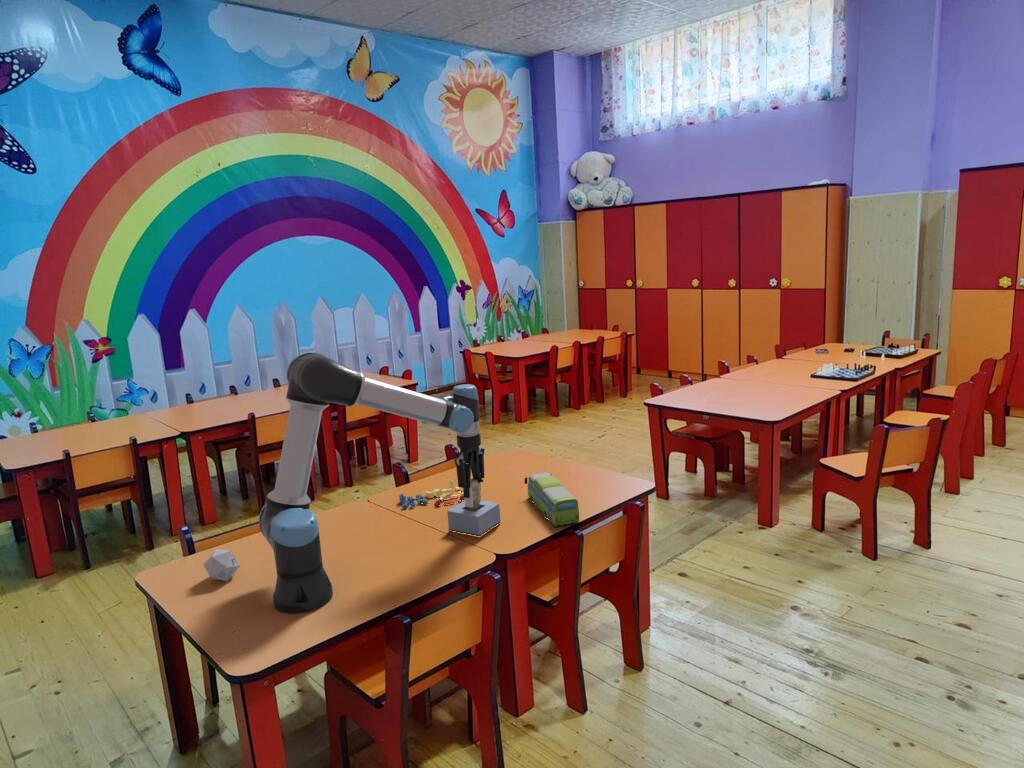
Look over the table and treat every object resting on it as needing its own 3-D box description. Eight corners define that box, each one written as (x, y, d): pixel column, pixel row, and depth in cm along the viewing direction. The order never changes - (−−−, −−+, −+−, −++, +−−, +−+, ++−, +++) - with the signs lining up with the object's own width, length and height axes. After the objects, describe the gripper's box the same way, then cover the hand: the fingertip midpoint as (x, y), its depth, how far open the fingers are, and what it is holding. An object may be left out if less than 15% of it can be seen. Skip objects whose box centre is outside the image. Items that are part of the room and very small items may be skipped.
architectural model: (507, 479, 270) (506, 466, 269) (523, 490, 258) (523, 476, 256) (395, 503, 251) (393, 489, 250) (407, 516, 239) (405, 502, 238)
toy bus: (552, 493, 252) (551, 467, 250) (583, 525, 223) (582, 495, 221) (525, 497, 249) (523, 471, 247) (552, 530, 220) (551, 500, 218)
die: (211, 591, 193) (230, 561, 193) (191, 570, 197) (210, 541, 196) (232, 587, 201) (251, 559, 201) (213, 568, 204) (231, 540, 204)
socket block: (479, 538, 217) (478, 516, 215) (448, 531, 223) (447, 510, 222) (500, 523, 227) (499, 503, 225) (470, 517, 233) (469, 498, 231)
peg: (475, 519, 221) (473, 483, 219) (465, 517, 223) (462, 482, 221) (482, 515, 225) (480, 479, 222) (472, 513, 227) (470, 478, 224)
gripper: (462, 442, 209) (467, 515, 214) (493, 428, 223) (497, 497, 228) (442, 439, 213) (447, 511, 218) (473, 425, 227) (478, 493, 232)
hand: (473, 503), depth 223 cm, fingers closed on peg, 4 cm apart
